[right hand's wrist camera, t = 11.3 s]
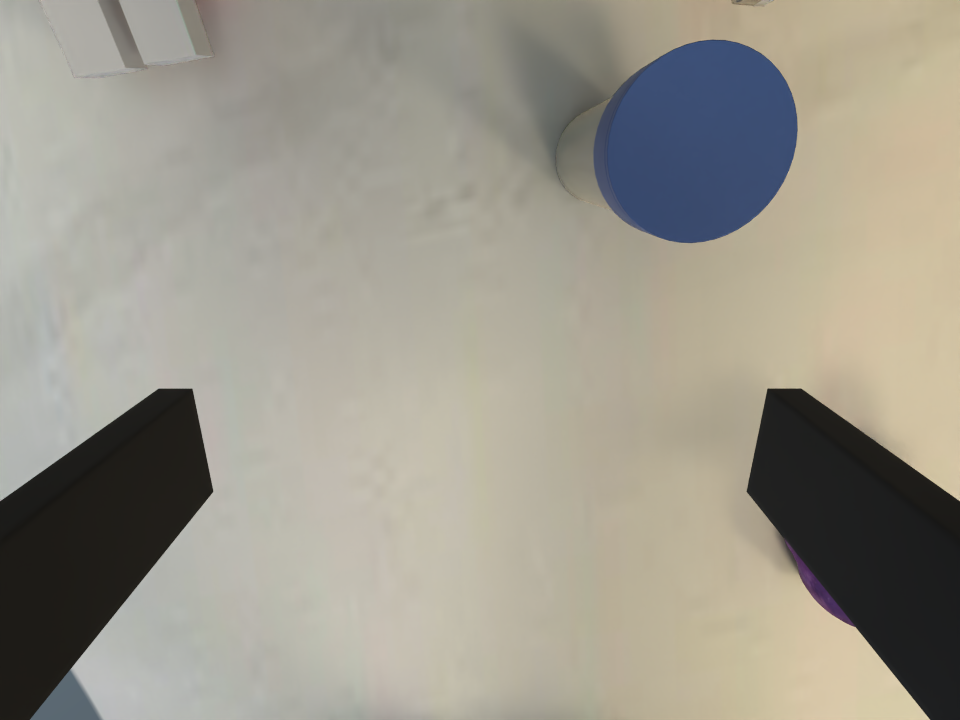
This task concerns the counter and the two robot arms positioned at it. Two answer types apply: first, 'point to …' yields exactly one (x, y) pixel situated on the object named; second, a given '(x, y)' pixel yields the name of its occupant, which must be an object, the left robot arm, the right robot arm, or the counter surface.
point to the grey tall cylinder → (581, 157)
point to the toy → (126, 34)
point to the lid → (696, 141)
